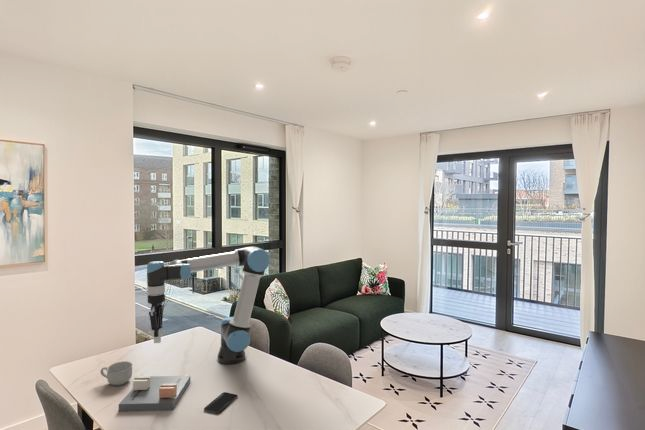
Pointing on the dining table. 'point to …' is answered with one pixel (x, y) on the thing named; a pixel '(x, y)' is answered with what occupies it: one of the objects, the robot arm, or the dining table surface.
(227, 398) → the phone
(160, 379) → the console
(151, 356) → the dining table surface
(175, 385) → the fader terracotta
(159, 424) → the dining table surface
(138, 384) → the block
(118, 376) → the teacup
